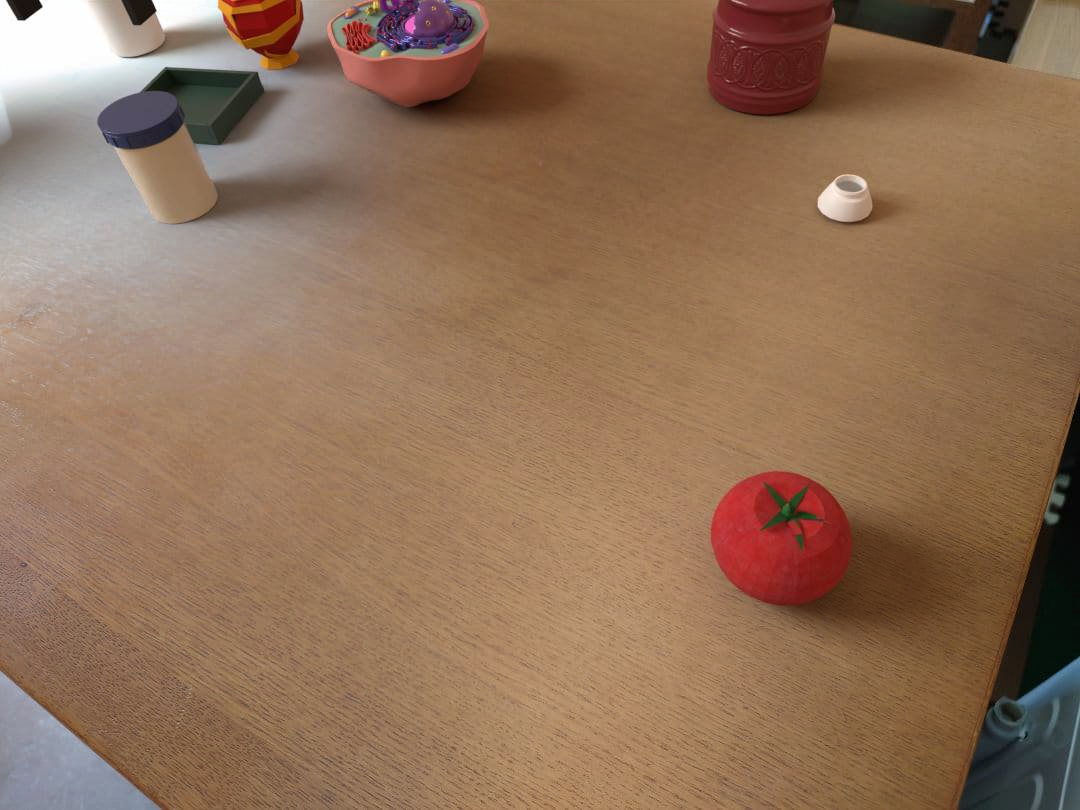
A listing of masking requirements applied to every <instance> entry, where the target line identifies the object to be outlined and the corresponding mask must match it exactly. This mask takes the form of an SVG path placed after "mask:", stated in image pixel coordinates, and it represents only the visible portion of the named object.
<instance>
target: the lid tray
mask: <svg viewBox="0 0 1080 810" xmlns="http://www.w3.org/2000/svg"><path fill="white" fill-rule="evenodd" d="M146 91H162V92H167V93H170V94H172V95H173V96H175V98H176V99H177V101H178V103H179V105H180V106H181V108H182V110H183V112H184V115H185V116H184V123H185V125H186V127H187V129H188V131H189V133H190V136H191V138H192V140H193V142H194V144H202V145H216V146H217V145H218V146H220V145H221V144H222V143H223V141H224V140H225V139H226V138H227V136H229V134H230V133H231V132H232V131H233V129H234V128H235V127H236V126H237V125H238V123H240V121H241V120H242V119H243V117H244V116H245V115H246V114H247V113H248V111H249V110H250V109H251V108H252V107H253V106H254V105H255V103H256V102H257V101H258V99H259V98H260V97H261V96H262V95H263V94H264V92H265V89H264V86H263V83H262V80H261V78H260V74H259V72H258V71H251V70H234V69H233V70H231V69H213V68H195V67H194V68H193V67H192V68H191V67H174V66H165V67H163V69H162V70H161V71H159V72H158V73H157V74H156V75H155V77H154V78H152V79H151V80H150V82H149V83H147V84H146V85H145V86H144V87H143V88H142V89H141V90H140V91H139V92H138V93H140V92H146Z"/></svg>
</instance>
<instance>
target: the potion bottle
mask: <svg viewBox="0 0 1080 810" xmlns="http://www.w3.org/2000/svg"><path fill="white" fill-rule="evenodd" d="M217 9H218V10H219V11H220V12H221V13H222V19H223V22H224V24H225V29H226V30H227V32H228V33H229V35H230V37H231V38H232V40H233V41H235V42H236V43H237V44H239V45H240V46H241V47H242V48H244V49H245V50H252V51H253V52H255V53H256V54H259V55H261V60H260V64H259V65H260V66H261V67H263V68H264V69H266V70H267V71H273V70H284V69H286V68H288V67H290V66H293V65H294V64H296V63H297V62H298V60H299V58H300V54H299V53H297V51H295V49H293V47H294V45H295V43H296V41H297V39H298V37H299V35H300V33H301V29H302V26H303V23H304V20H305V17H304V7H303V2H302V0H217Z"/></svg>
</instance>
